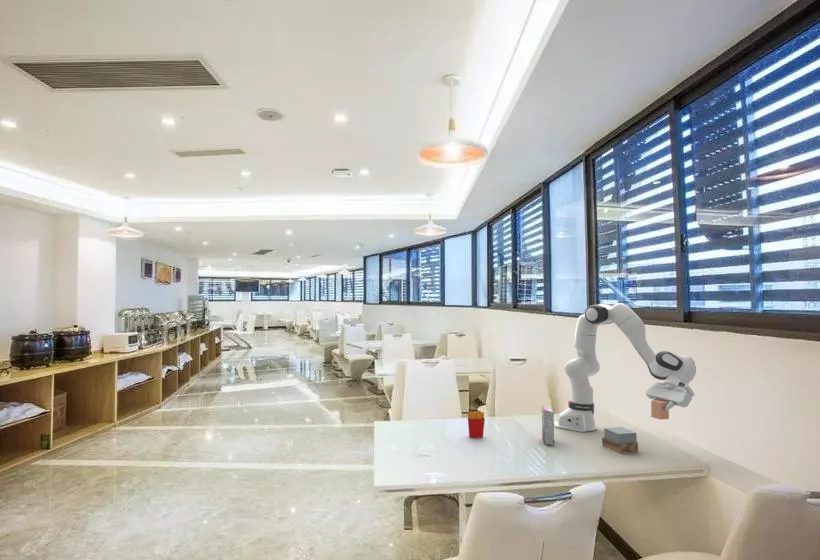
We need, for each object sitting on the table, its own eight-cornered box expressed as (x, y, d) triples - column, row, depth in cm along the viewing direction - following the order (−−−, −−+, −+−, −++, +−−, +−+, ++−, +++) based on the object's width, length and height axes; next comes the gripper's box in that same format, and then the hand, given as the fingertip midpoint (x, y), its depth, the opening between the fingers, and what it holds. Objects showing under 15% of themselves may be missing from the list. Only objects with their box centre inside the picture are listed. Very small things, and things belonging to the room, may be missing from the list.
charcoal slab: (618, 443, 206) (618, 434, 206) (604, 437, 216) (604, 428, 216) (636, 442, 208) (636, 432, 209) (621, 436, 218) (621, 426, 218)
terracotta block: (660, 419, 200) (660, 403, 201) (651, 416, 205) (651, 400, 205) (668, 418, 202) (668, 402, 202) (659, 416, 207) (659, 399, 207)
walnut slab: (619, 454, 205) (619, 444, 205) (602, 446, 215) (602, 437, 215) (638, 451, 208) (637, 442, 209) (620, 444, 219) (620, 435, 219)
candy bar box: (541, 438, 227) (541, 405, 228) (551, 438, 226) (551, 406, 227) (543, 444, 216) (543, 411, 217) (554, 445, 215) (554, 411, 216)
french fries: (482, 434, 231) (482, 409, 231) (485, 437, 227) (485, 411, 227) (465, 435, 229) (466, 410, 229) (468, 438, 224) (469, 412, 225)
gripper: (652, 377, 216) (636, 398, 213) (690, 385, 197) (674, 409, 193) (659, 386, 217) (644, 407, 214) (698, 395, 198) (682, 418, 195)
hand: (658, 408), depth 203 cm, fingers closed on terracotta block, 5 cm apart
